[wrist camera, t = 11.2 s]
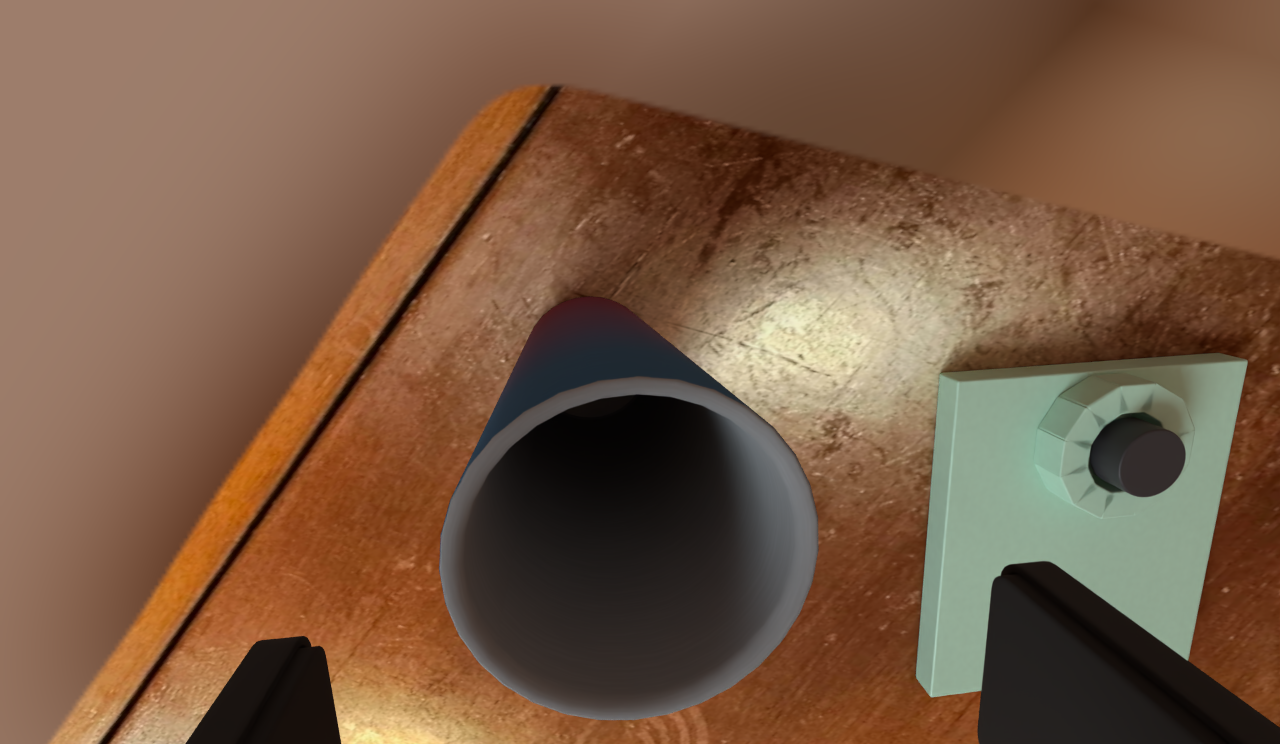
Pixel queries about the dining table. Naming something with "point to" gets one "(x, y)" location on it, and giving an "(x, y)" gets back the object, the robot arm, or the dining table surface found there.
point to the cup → (624, 525)
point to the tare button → (1137, 456)
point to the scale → (1069, 497)
